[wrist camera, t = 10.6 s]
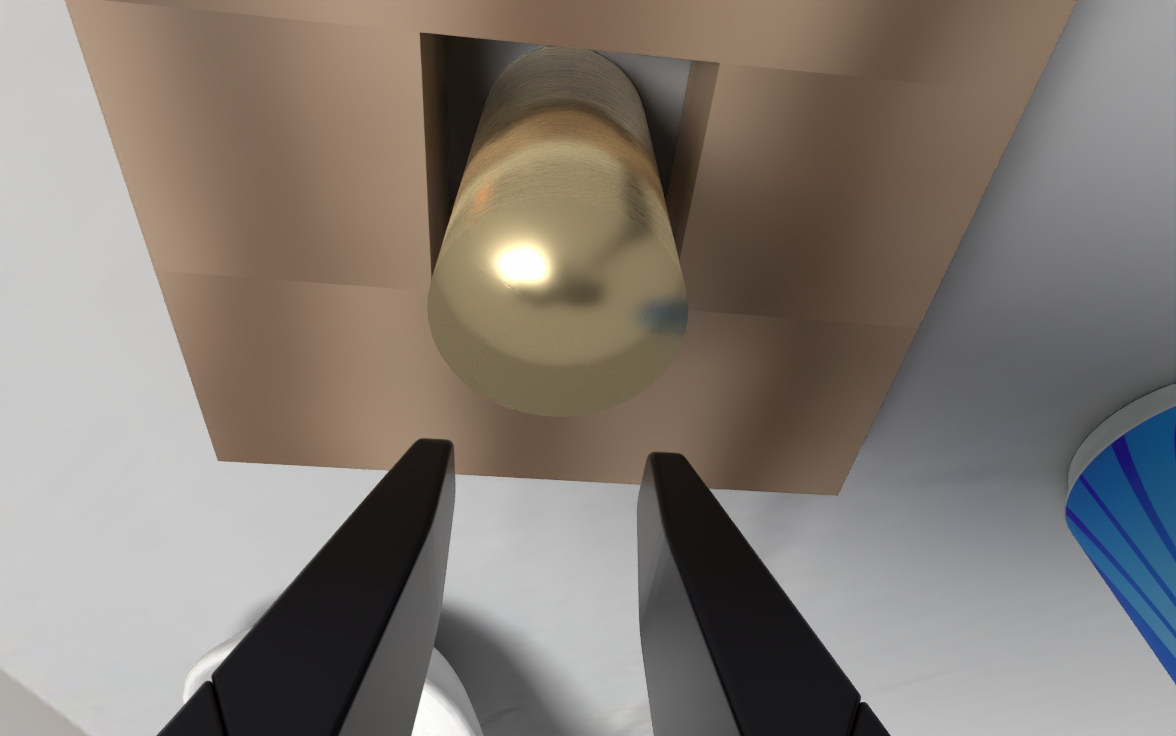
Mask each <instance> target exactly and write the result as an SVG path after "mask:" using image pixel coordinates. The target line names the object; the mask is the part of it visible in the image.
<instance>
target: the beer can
mask: <svg viewBox="0 0 1176 736" xmlns="http://www.w3.org/2000/svg"><path fill="white" fill-rule="evenodd" d="M1068 486H1069V491H1068V493H1067V497H1066V501H1065V519H1066V522H1067V525H1068V527H1069V529H1070V531H1071V533H1072V534H1073V536H1074V537H1075V538H1076V540H1077V541H1078V543H1079V544H1080V546H1081V547H1082V549H1083V550H1084V552H1085V553H1086V554H1087V556H1088V557H1089V559H1090V560H1091V562H1092V563H1093V565H1094V566H1095V568H1096V569H1097V570H1098V572H1099V573H1100V575H1101V576H1102V578H1103V579H1104V581H1105V582H1106V584H1107V585H1108V586H1109V588H1110V589H1111V591H1112V592H1113V594H1114V595H1115V597H1116V598H1117V600H1118V601H1119V602H1120V604H1121V605H1122V607H1123V608H1124V610H1125V611H1126V613H1127V614H1128V616H1129V617H1130V618H1131V620H1132V621H1133V623H1134V624H1135V626H1136V627H1137V629H1138V630H1139V632H1140V633H1141V634H1142V636H1143V637H1144V639H1145V640H1146V642H1147V643H1148V645H1149V646H1150V648H1151V649H1152V650H1153V652H1154V653H1155V655H1156V656H1157V658H1158V659H1159V661H1160V662H1161V664H1162V665H1163V666H1164V668H1165V669H1166V671H1167V672H1168V674H1169V675H1170V677H1171V678H1172V680H1173V681H1174V682H1175V684H1176V383H1174V384H1171V385H1168V386H1166V387H1163V388H1161V389H1158V390H1156V391H1154V392H1151V393H1149V394H1147V395H1145V396H1143V397H1141V398H1139V399H1137V400H1135V401H1133V402H1132V403H1130V404H1128V405H1126V406H1125V407H1123V408H1122V409H1120V410H1119V411H1117V412H1116V413H1114V414H1113V415H1111V416H1110V417H1109V418H1107V419H1106V420H1105V421H1104V422H1102V423H1101V424H1100V425H1099V426H1098V427H1097V428H1096V429H1095V430H1094V431H1093V432H1091V434H1090V435H1089V436H1088V437H1087V438H1086V439H1085V440H1084V442H1083V443H1082V444H1081V445H1080V447H1079V448H1078V450H1077V452H1076V453H1075V455H1074V457H1073V459H1072V462H1071V464H1070V468H1069V472H1068Z"/></svg>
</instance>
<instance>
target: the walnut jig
mask: <svg viewBox="0 0 1176 736" xmlns="http://www.w3.org/2000/svg"><path fill="white" fill-rule="evenodd" d="M65 2H66V5H67V8H68V11H69V14H70V17H71V20H72V23H73V26H74V29H75V32H76V36H77V39H78V42H79V45H80V48H81V51H82V54H83V57H84V60H85V63H86V66H87V69H88V72H89V75H90V78H91V81H92V84H93V87H94V90H95V93H96V96H97V99H98V102H99V105H100V108H101V111H102V114H103V117H104V120H105V123H106V126H107V129H108V132H109V135H110V138H111V141H112V144H113V147H114V150H115V153H116V156H117V159H118V162H119V165H120V168H121V171H122V174H123V177H124V180H125V183H126V186H127V189H128V192H129V195H130V198H131V201H132V204H133V207H134V210H135V213H136V216H137V219H138V222H139V225H140V228H141V231H142V234H143V237H144V240H145V243H146V246H147V249H148V252H149V255H150V258H151V261H152V264H153V267H154V270H155V273H156V276H157V279H158V282H159V285H160V288H161V291H162V294H163V297H164V300H165V303H166V306H167V309H168V312H169V315H170V318H171V321H172V324H173V327H174V330H175V333H176V336H177V339H178V342H179V345H180V348H181V351H182V354H183V357H184V360H185V363H186V366H187V369H188V372H189V375H190V378H191V381H192V384H193V387H194V390H195V393H196V396H197V399H198V402H199V405H200V408H201V411H202V414H203V417H204V420H205V423H206V426H207V429H208V432H209V435H210V438H211V441H212V444H213V447H214V450H215V453H216V456H217V459H218V461H228V462H246V463H264V464H282V465H300V466H318V467H335V468H353V469H371V470H389V471H390V470H391V468H392V467H393V466H394V465H395V464H396V463H397V462H398V460H399V459H400V458H401V457H402V456H403V455H404V454H405V452H406V451H407V450H408V449H409V448H410V447H411V446H412V444H413V443H414V442H415V441H416V440H418V439H420V438H432V439H448V440H450V441H451V442H452V443H453V444H454V458H455V474H461V475H479V476H497V477H514V478H532V479H550V480H568V481H586V482H604V483H622V484H640V485H641V482H642V477H643V473H644V468H645V463H646V459H647V457H648V455H649V454H650V453H651V452H671V453H680V454H682V455H683V456H685V457H686V459H687V460H688V461H689V463H690V464H691V465H692V467H693V468H694V470H695V471H696V472H697V474H698V475H699V476H700V478H701V479H702V480H703V482H704V483H705V484H706V486H707V487H708V488H711V489H729V490H747V491H765V492H783V493H801V494H819V495H837V496H838V494H839V492H840V490H841V488H842V486H843V483H844V481H845V479H846V477H847V475H848V473H849V471H850V469H851V467H852V465H853V463H854V461H855V459H856V457H857V455H858V452H859V450H860V448H861V446H862V444H863V442H864V440H865V438H866V436H867V434H868V432H869V430H870V428H871V426H872V424H873V421H874V419H875V417H876V415H877V413H878V411H879V409H880V407H881V405H882V403H883V401H884V399H885V397H886V395H887V393H888V391H889V388H890V386H891V384H892V382H893V380H894V378H895V376H896V374H897V372H898V370H899V368H900V366H901V364H902V362H903V360H904V357H905V355H906V353H907V351H908V349H909V347H910V345H911V343H912V341H913V339H914V337H915V335H916V333H917V331H918V329H919V326H920V324H921V322H922V320H923V318H924V316H925V314H926V312H927V310H928V308H929V306H930V304H931V302H932V300H933V298H934V295H935V293H936V291H937V289H938V287H939V285H940V283H941V281H942V279H943V277H944V275H945V273H946V271H947V269H948V267H949V264H950V262H951V260H952V258H953V256H954V254H955V252H956V250H957V248H958V246H959V244H960V242H961V240H962V238H963V236H964V233H965V231H966V229H967V227H968V225H969V223H970V221H971V219H972V217H973V215H974V213H975V211H976V209H977V207H978V205H979V203H980V200H981V198H982V196H983V194H984V192H985V190H986V188H987V186H988V184H989V182H990V180H991V178H992V176H993V174H994V172H995V169H996V167H997V165H998V163H999V161H1000V159H1001V157H1002V155H1003V153H1004V151H1005V149H1006V147H1007V145H1008V143H1009V141H1010V138H1011V136H1012V134H1013V132H1014V130H1015V128H1016V126H1017V124H1018V122H1019V120H1020V118H1021V116H1022V114H1023V112H1024V110H1025V107H1026V105H1027V103H1028V101H1029V99H1030V97H1031V95H1032V93H1033V91H1034V89H1035V87H1036V85H1037V83H1038V81H1039V79H1040V76H1041V74H1042V72H1043V70H1044V68H1045V66H1046V64H1047V62H1048V60H1049V58H1050V56H1051V54H1052V52H1053V50H1054V48H1055V45H1056V43H1057V41H1058V39H1059V37H1060V35H1061V33H1062V31H1063V29H1064V27H1065V25H1066V23H1067V21H1068V19H1069V17H1070V15H1071V12H1072V10H1073V8H1074V6H1075V4H1076V2H1077V0H65ZM445 35H451V36H461V37H471V38H481V39H491V40H500V41H510V42H520V43H530V44H540V45H550V46H560V47H569V48H579V49H589V50H599V51H609V52H619V53H628V54H638V55H648V56H658V57H668V58H678V59H687V60H692V61H691V67H690V72H689V78H688V83H687V89H686V94H685V100H684V105H683V111H682V116H681V122H680V127H679V133H678V138H677V144H676V149H675V155H674V160H673V166H672V171H671V177H670V182H669V188H668V193H667V199H666V207H667V211H668V215H669V220H670V224H671V228H672V233H673V237H674V241H675V245H676V250H677V254H678V258H679V263H680V267H681V271H682V276H683V280H684V284H685V288H686V294H687V300H688V320H687V327H686V332H685V335H684V339H683V342H682V345H681V347H680V349H679V351H678V353H677V355H676V357H675V358H674V360H673V361H672V363H671V364H670V366H669V367H668V369H667V370H666V371H665V372H664V373H663V374H662V375H661V376H660V378H659V379H658V380H656V381H655V382H654V383H653V384H652V385H651V386H650V387H649V388H647V389H646V390H644V391H643V392H641V393H640V394H638V395H637V396H635V397H634V398H632V399H630V400H628V401H626V402H624V403H622V404H620V405H617V406H615V407H612V408H610V409H606V410H603V411H599V412H596V413H591V414H585V415H579V416H567V417H554V416H542V415H534V414H529V413H524V412H520V411H516V410H513V409H510V408H507V407H504V406H502V405H500V404H497V403H495V402H493V401H491V400H489V399H487V398H485V397H484V396H482V395H480V394H478V393H477V392H476V391H474V390H473V389H472V388H470V387H469V386H467V385H466V384H465V383H464V382H463V381H462V380H461V379H460V378H459V377H458V376H456V374H455V373H454V372H453V371H452V370H451V369H450V367H449V366H448V365H447V364H446V362H445V361H444V359H443V358H442V356H441V354H440V353H439V351H438V349H437V347H436V344H435V342H434V340H433V337H432V334H431V330H430V327H429V321H428V313H427V305H428V293H429V288H430V283H431V280H432V276H433V273H434V270H435V266H436V263H437V260H438V257H439V253H440V250H441V247H442V243H443V240H444V237H445V233H446V230H447V227H448V223H449V220H450V214H449V177H448V140H447V103H446V66H445Z"/></svg>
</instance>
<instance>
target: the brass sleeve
mask: <svg viewBox="0 0 1176 736" xmlns="http://www.w3.org/2000/svg"><path fill="white" fill-rule="evenodd" d="M427 313H428V321H429V327H430V330H431V334H432V337H433V340H434V342H435V344H436V347H437V349H438V351H439V353H440V354H441V356H442V358H443V359H444V361H445V362H446V364H447V365H448V366H449V367H450V369H451V370H452V371H453V372H454V373H455V374H456V376H458V377H459V378H460V379H461V380H462V381H463V382H464V383H465V384H466V385H467V386H469V387H470V388H472V389H473V390H474V391H476V392H477V393H478V394H480V395H482V396H484V397H485V398H487V399H489V400H491V401H493V402H495V403H497V404H500V405H502V406H504V407H507V408H510V409H513V410H516V411H520V412H524V413H529V414H534V415H542V416H554V417H567V416H579V415H585V414H591V413H596V412H599V411H603V410H606V409H610V408H612V407H615V406H617V405H620V404H622V403H624V402H626V401H628V400H630V399H632V398H634V397H635V396H637V395H638V394H640V393H641V392H643V391H644V390H646V389H647V388H649V387H650V386H651V385H652V384H653V383H654V382H655V381H656V380H658V379H659V378H660V376H661V375H662V374H663V373H664V372H665V371H666V370H667V369H668V367H669V366H670V364H671V363H672V361H673V360H674V358H675V357H676V355H677V353H678V351H679V349H680V347H681V345H682V342H683V339H684V335H685V332H686V327H687V320H688V300H687V294H686V288H685V284H684V280H683V276H682V271H681V267H680V263H679V258H678V254H677V250H676V245H675V241H674V237H673V233H672V228H671V224H670V220H669V215H668V211H667V207H666V203H665V198H664V194H663V190H662V185H661V181H660V177H659V172H658V168H657V164H656V160H655V155H654V151H653V147H652V142H651V138H650V134H649V129H648V125H647V121H646V117H645V112H644V108H643V105H642V102H641V99H640V97H639V94H638V92H637V90H636V88H635V87H634V85H633V84H632V82H631V81H630V79H629V78H628V77H627V76H626V74H625V73H624V72H623V71H622V70H621V69H620V68H619V67H618V66H617V65H615V64H614V63H613V62H611V61H610V60H608V59H607V58H605V57H604V56H602V55H600V54H598V53H596V52H594V51H590V50H587V49H579V48H569V47H560V46H551V47H545V48H541V49H537V50H535V51H532V52H530V53H527V54H525V55H524V56H522V57H520V58H518V59H517V60H515V61H514V62H513V63H512V64H510V65H509V66H508V67H507V68H506V69H505V70H504V71H503V72H502V73H501V74H500V75H499V77H498V78H497V80H496V81H495V82H494V84H493V86H492V87H491V89H490V91H489V93H488V96H487V99H486V101H485V104H484V108H483V111H482V114H481V118H480V121H479V124H478V127H477V131H476V134H475V137H474V141H473V144H472V147H471V151H470V154H469V157H468V161H467V164H466V167H465V170H464V174H463V177H462V180H461V184H460V187H459V190H458V194H457V197H456V200H455V204H454V207H453V210H452V214H451V217H450V220H449V223H448V227H447V230H446V233H445V237H444V240H443V243H442V247H441V250H440V253H439V257H438V260H437V263H436V266H435V270H434V273H433V276H432V280H431V283H430V288H429V293H428V305H427Z"/></svg>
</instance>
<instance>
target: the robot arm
mask: <svg viewBox="0 0 1176 736" xmlns="http://www.w3.org/2000/svg"><path fill="white" fill-rule="evenodd" d="M454 503H455V458H454V444H453V443H452V442H451V441H450V440H448V439H432V438H420V439H418V440H416V441H415V442H414V443H413V444H412V446H411V447H410V448H409V449H408V450H407V451H406V452H405V454H404V455H403V456H402V457H401V458H400V459H399V460H398V462H397V463H396V464H395V465H394V466H393V467H392V468H391V470H390V471H389V472H388V473H387V474H386V475H385V476H384V478H383V479H382V480H381V481H380V482H379V483H378V484H377V486H376V487H375V488H374V489H373V490H372V491H371V492H370V494H369V495H368V496H367V497H366V498H365V499H364V500H363V502H362V503H361V504H360V505H359V506H358V507H357V508H356V510H355V511H354V512H353V513H352V514H351V515H350V516H349V518H348V519H347V520H346V521H345V522H344V523H343V524H342V526H341V527H340V528H339V529H338V530H337V531H336V532H335V534H334V535H333V536H332V537H331V538H330V539H329V540H328V542H327V543H326V544H325V545H324V546H323V547H322V548H321V550H320V551H319V552H318V553H317V554H316V555H315V556H314V558H313V559H312V560H311V561H310V562H309V563H308V564H307V566H306V567H305V568H304V569H303V570H302V571H301V572H300V574H299V575H298V576H297V577H296V578H295V579H294V580H293V582H292V583H291V584H290V585H289V586H288V587H287V588H286V590H285V591H284V592H283V593H282V594H281V595H280V596H279V598H278V599H277V600H276V601H275V602H274V603H273V604H272V606H271V607H270V608H269V609H268V610H267V611H266V612H265V614H264V615H263V616H262V617H261V618H260V619H259V620H258V622H257V623H256V624H255V625H254V626H253V627H252V628H251V630H250V631H249V632H248V633H247V634H246V635H245V636H244V638H243V639H242V640H241V641H240V642H239V643H238V644H237V646H236V647H235V648H234V649H233V650H232V651H231V652H230V654H229V655H228V656H227V657H226V658H225V659H224V660H223V662H222V663H221V664H220V665H219V666H218V667H217V668H216V670H215V671H214V672H213V673H212V675H211V678H212V682H211V681H205V682H204V683H203V684H202V685H201V686H200V687H199V688H198V689H197V691H196V692H195V693H194V694H193V695H192V696H191V698H190V699H189V700H188V701H187V702H186V703H185V704H184V706H183V707H182V708H181V709H180V710H179V711H178V713H177V714H176V715H175V716H174V717H173V718H172V719H171V720H170V721H169V723H168V724H167V725H166V726H165V727H164V728H163V729H162V730H161V731H160V732H159V733H158V735H157V736H411V735H412V731H413V727H414V723H415V719H416V715H417V711H418V707H419V703H420V699H421V695H422V691H423V687H424V683H425V679H426V675H427V671H428V667H429V663H430V659H431V655H432V651H433V647H434V643H435V639H436V634H437V629H438V625H439V620H440V613H441V607H442V600H443V592H444V584H445V576H446V568H447V560H448V552H449V544H450V536H451V528H452V519H453V511H454ZM637 538H638V591H639V623H640V636H641V646H642V654H643V661H644V668H645V676H646V683H647V690H648V697H649V704H650V711H651V719H652V726H653V733H654V736H890V734H889V733H888V731H887V730H886V729H885V727H884V726H883V725H882V723H881V722H880V721H879V719H878V718H877V716H876V715H875V714H874V712H873V711H872V710H871V708H870V707H869V706H868V704H867V703H865V702H861V703H860V700H861V696H860V694H859V692H858V691H857V690H856V688H855V687H854V686H853V684H852V683H851V682H850V680H849V679H848V677H847V676H846V675H845V673H844V672H843V671H842V669H841V668H840V667H839V665H838V664H837V662H836V661H835V660H834V658H833V657H832V656H831V654H830V653H829V652H828V650H827V649H826V648H825V646H824V645H823V643H822V642H821V641H820V639H819V638H818V637H817V635H816V634H815V633H814V631H813V630H812V629H811V627H810V626H809V624H808V623H807V622H806V620H805V619H804V618H803V616H802V615H801V614H800V612H799V611H798V609H797V608H796V607H795V605H794V604H793V603H792V601H791V600H790V599H789V597H788V596H787V595H786V593H785V592H784V590H783V589H782V588H781V586H780V585H779V584H778V582H777V581H776V580H775V578H774V577H773V576H772V574H771V573H770V571H769V570H768V569H767V567H766V566H765V565H764V563H763V562H762V561H761V559H760V558H759V556H758V555H757V554H756V552H755V551H754V550H753V548H752V547H751V546H750V544H749V543H748V542H747V540H746V539H745V537H744V536H743V535H742V533H741V532H740V531H739V529H738V528H737V527H736V525H735V524H734V523H733V521H732V520H731V518H730V517H729V516H728V514H727V513H726V512H725V510H724V509H723V508H722V506H721V505H720V503H719V502H718V501H717V499H716V498H715V497H714V495H713V494H712V493H711V491H710V490H709V489H708V487H707V486H706V484H705V483H704V482H703V480H702V479H701V478H700V476H699V475H698V474H697V472H696V471H695V470H694V468H693V467H692V465H691V464H690V463H689V461H688V460H687V459H686V457H685V456H683V455H682V454H680V453H671V452H651V453H650V454H649V455H648V457H647V459H646V463H645V468H644V473H643V477H642V482H641V487H640V491H639V496H638V504H637Z"/></svg>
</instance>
